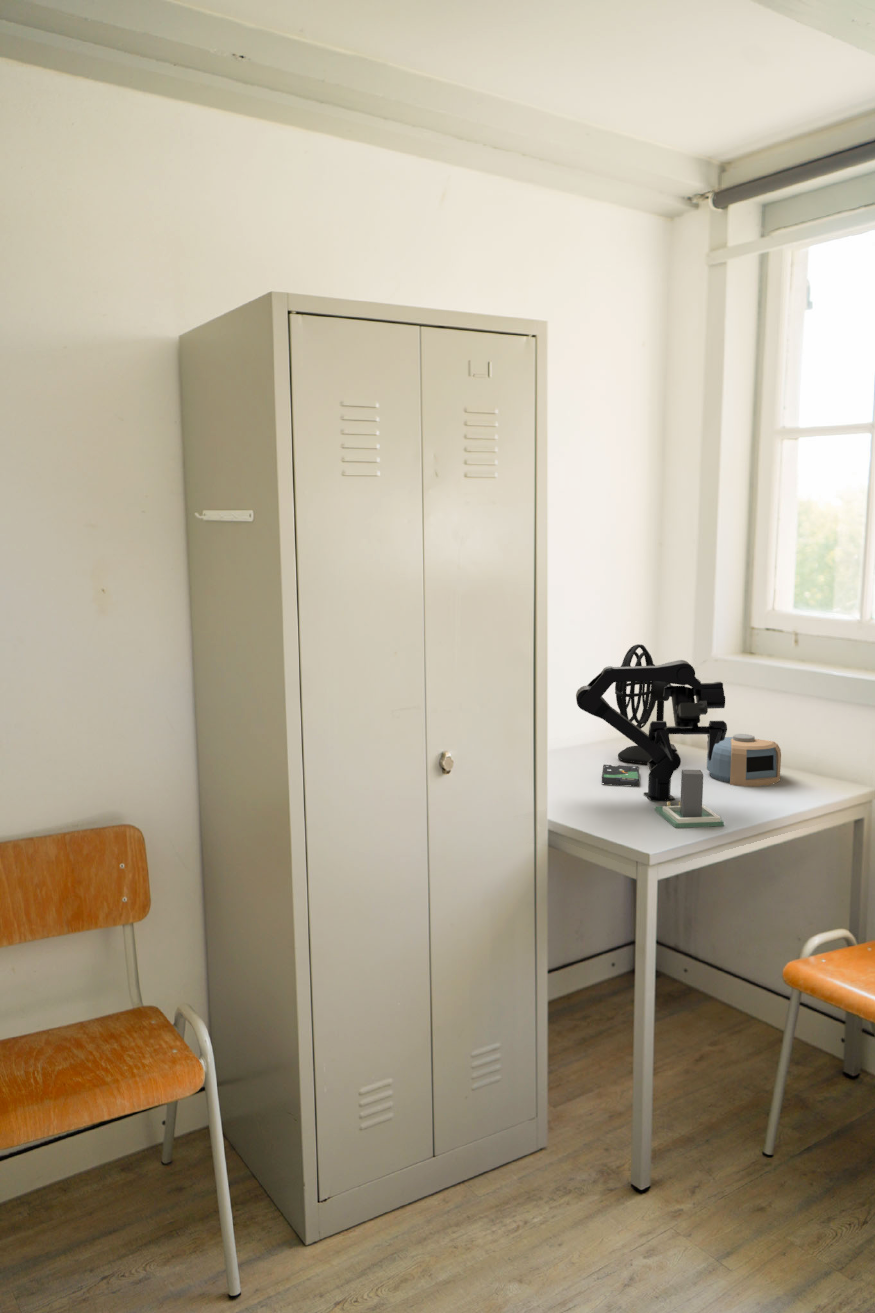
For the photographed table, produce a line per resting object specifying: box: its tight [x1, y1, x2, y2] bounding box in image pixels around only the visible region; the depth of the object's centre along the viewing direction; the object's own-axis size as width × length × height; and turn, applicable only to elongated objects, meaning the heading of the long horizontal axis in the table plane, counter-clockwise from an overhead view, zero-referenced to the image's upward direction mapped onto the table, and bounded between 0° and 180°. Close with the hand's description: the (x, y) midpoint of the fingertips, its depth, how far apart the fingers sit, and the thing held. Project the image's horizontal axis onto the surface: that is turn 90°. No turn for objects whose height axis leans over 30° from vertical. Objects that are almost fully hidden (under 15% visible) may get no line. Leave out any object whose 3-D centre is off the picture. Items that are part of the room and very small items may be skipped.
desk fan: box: [614, 644, 672, 765], centre depth 293 cm, size 27×18×35 cm, turn 152°
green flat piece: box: [654, 800, 725, 829], centre depth 233 cm, size 14×12×2 cm
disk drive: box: [601, 764, 640, 787], centre depth 270 cm, size 10×3×15 cm
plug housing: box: [680, 768, 704, 818], centre depth 231 cm, size 4×4×11 cm
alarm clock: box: [706, 733, 782, 787], centre depth 271 cm, size 19×20×12 cm
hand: (691, 759), depth 235 cm, fingers open, 9 cm apart
